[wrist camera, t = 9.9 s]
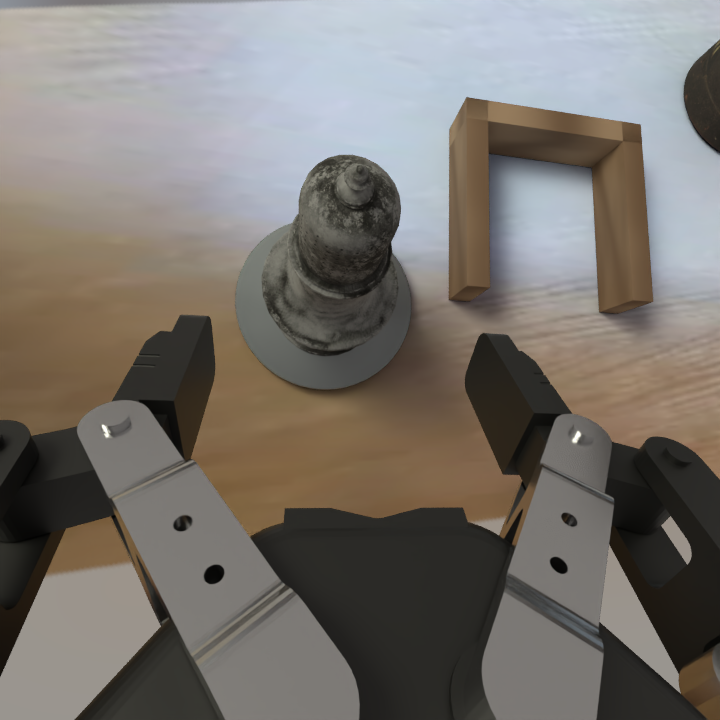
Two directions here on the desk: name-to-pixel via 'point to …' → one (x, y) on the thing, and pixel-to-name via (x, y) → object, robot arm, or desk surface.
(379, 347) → the grey oval disc
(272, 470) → the desk surface
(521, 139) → the wooden arch
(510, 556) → the robot arm
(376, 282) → the stone finial
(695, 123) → the container
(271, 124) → the desk surface
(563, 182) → the desk surface
